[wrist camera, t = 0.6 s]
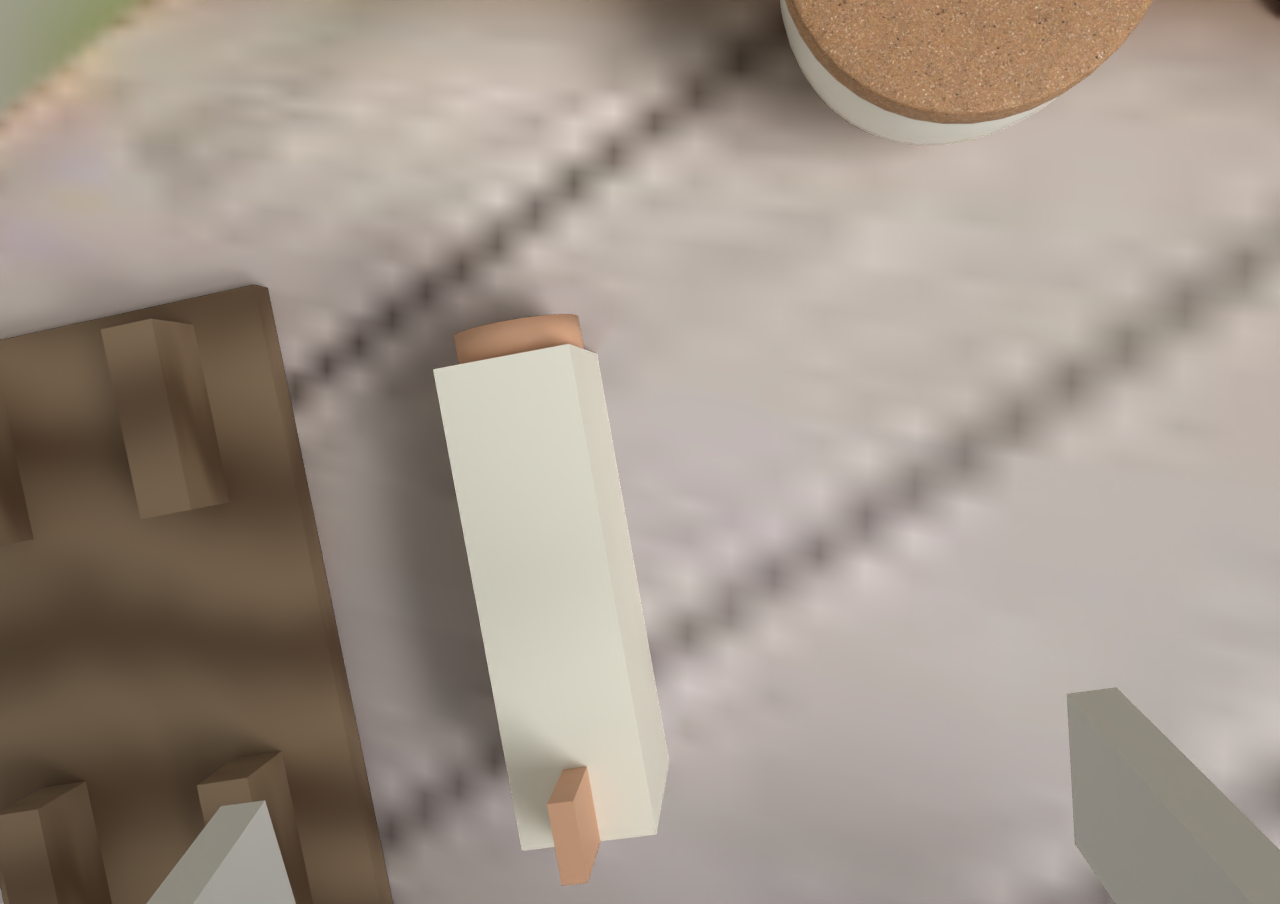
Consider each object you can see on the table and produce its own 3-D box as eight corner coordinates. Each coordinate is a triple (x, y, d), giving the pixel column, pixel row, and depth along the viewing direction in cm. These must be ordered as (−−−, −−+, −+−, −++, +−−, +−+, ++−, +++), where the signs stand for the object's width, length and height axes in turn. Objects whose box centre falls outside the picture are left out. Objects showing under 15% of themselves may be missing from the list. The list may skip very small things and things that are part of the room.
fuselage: (669, 759, 35) (649, 875, 26) (557, 774, 35) (502, 892, 27) (592, 323, 34) (545, 296, 26) (479, 344, 34) (397, 325, 26)
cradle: (397, 923, 36) (361, 979, 32) (40, 969, 38) (-30, 1026, 34) (267, 287, 35) (216, 275, 32) (-92, 366, 37) (-178, 362, 33)
